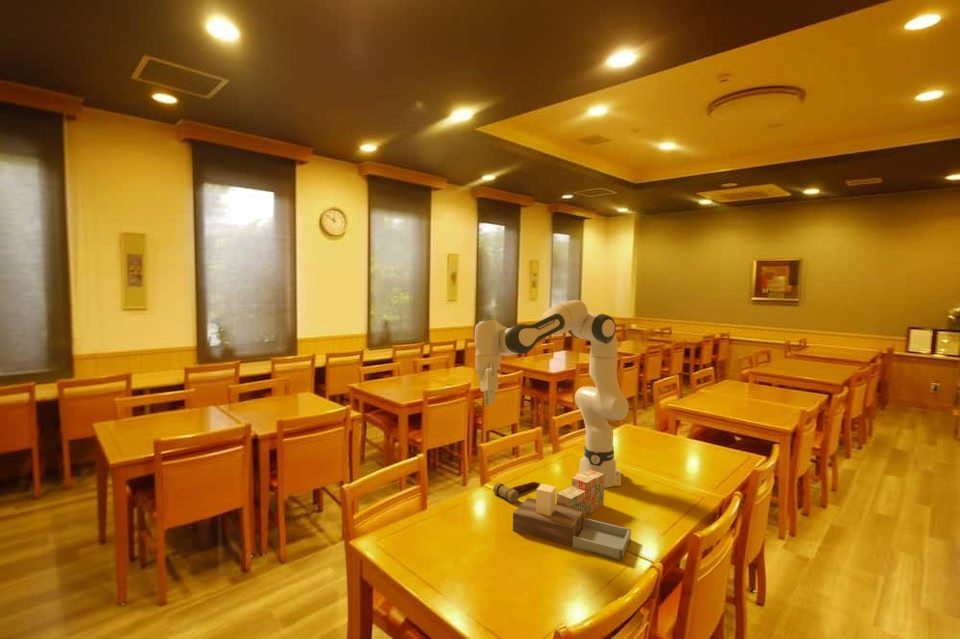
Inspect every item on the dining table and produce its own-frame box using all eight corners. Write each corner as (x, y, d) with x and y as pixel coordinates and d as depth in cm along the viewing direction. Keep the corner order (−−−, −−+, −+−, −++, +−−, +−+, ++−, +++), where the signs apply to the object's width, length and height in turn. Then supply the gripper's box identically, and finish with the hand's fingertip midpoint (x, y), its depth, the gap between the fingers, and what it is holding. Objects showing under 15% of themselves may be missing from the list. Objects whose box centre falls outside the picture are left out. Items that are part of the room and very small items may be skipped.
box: (584, 527, 158) (584, 517, 158) (630, 539, 151) (630, 529, 151) (572, 547, 146) (572, 537, 145) (621, 561, 139) (622, 550, 139)
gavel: (531, 474, 196) (549, 482, 188) (530, 484, 196) (548, 493, 188) (493, 483, 182) (511, 492, 175) (492, 495, 182) (510, 504, 175)
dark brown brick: (527, 513, 167) (527, 497, 167) (582, 528, 158) (583, 510, 157) (512, 530, 156) (513, 512, 155) (571, 546, 146) (571, 528, 146)
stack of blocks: (570, 525, 160) (571, 490, 159) (555, 518, 164) (556, 484, 164) (603, 505, 175) (604, 473, 174) (589, 499, 179) (590, 468, 179)
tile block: (541, 506, 160) (541, 483, 160) (555, 509, 158) (555, 486, 157) (535, 512, 156) (536, 489, 155) (550, 516, 153) (550, 492, 153)
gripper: (501, 362, 155) (503, 404, 153) (492, 366, 175) (494, 404, 173) (482, 362, 155) (484, 405, 152) (475, 367, 174) (477, 404, 172)
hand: (489, 404), depth 163 cm, fingers open, 8 cm apart
